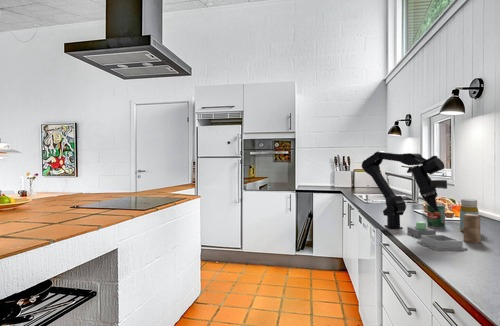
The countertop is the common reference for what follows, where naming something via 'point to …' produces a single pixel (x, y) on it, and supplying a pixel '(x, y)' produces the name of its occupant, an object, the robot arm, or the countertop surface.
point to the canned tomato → (436, 216)
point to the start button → (421, 225)
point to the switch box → (420, 231)
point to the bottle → (467, 209)
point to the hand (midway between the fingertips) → (436, 211)
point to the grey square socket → (441, 242)
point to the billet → (471, 228)
